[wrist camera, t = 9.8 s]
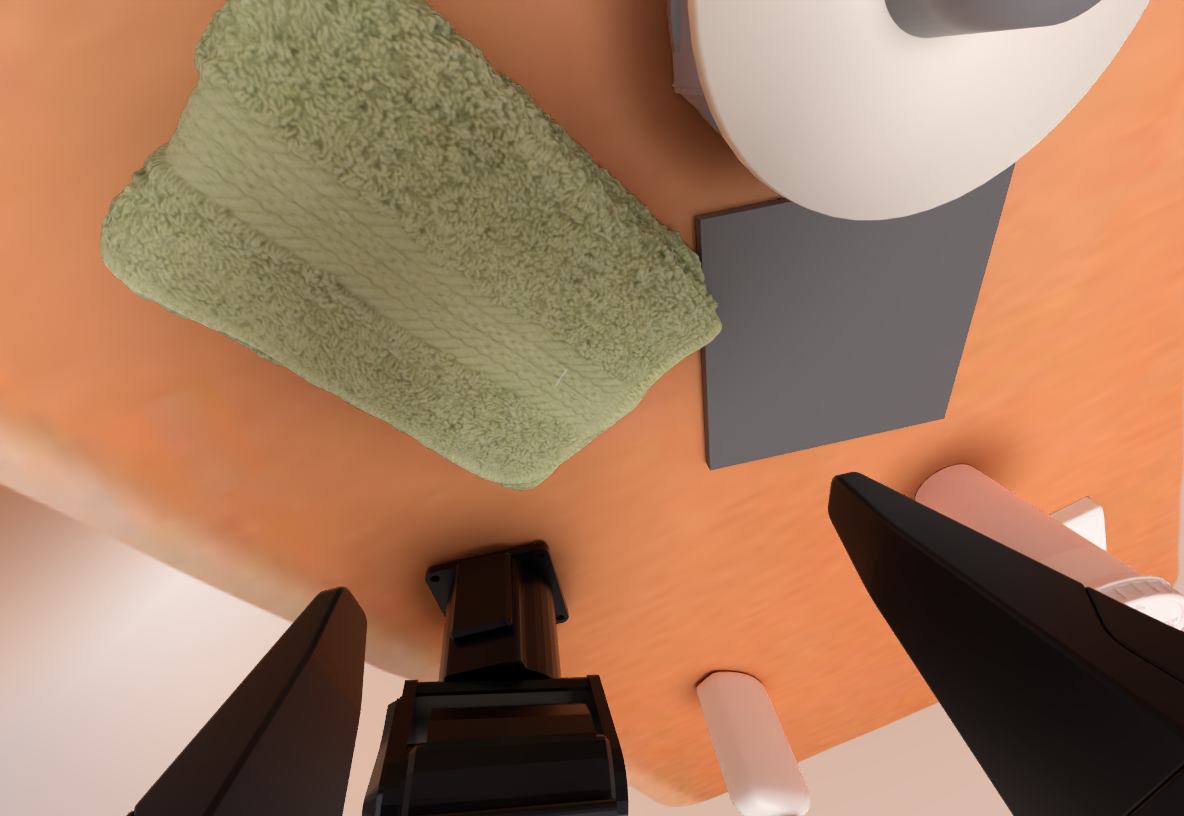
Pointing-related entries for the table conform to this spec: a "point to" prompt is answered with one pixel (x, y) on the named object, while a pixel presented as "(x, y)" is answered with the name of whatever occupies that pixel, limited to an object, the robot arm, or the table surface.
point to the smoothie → (1046, 540)
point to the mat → (836, 320)
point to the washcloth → (407, 235)
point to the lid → (895, 90)
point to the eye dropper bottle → (752, 747)
